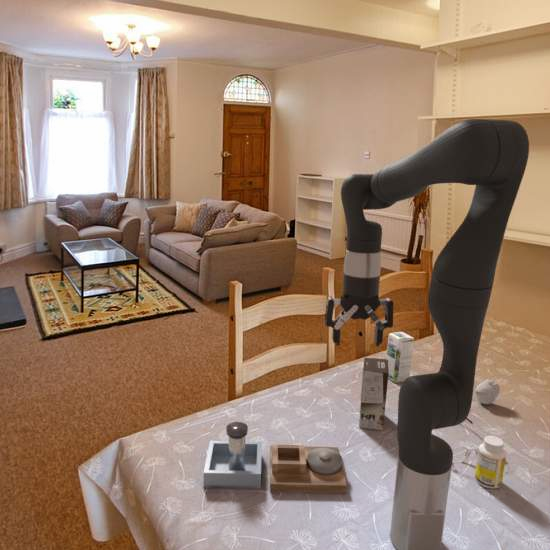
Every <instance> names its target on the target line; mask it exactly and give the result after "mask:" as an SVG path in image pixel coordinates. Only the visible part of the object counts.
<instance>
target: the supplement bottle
mask: <svg viewBox="0 0 550 550" xmlns="http://www.w3.org/2000/svg"><path fill="white" fill-rule="evenodd" d="M504 445H505V443H504V440H502V439H501V438H500V437H497V436H494V435H488V436H487V435H486V437H485V436H484V438H483V443H480V445H479V446H478V448H479V451H478V450H477V451H478V455H477V459H476V460H477V461H476V465H475V473H474V474H475V475H474V478H475V481H476V482H477V483H478V484H479V485H481V486H482V487H484V488H487V489H499V488H500V487H502V484H503V479H504V472H505V465H506V459H507V451H506V449H505V448H504Z"/></svg>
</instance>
